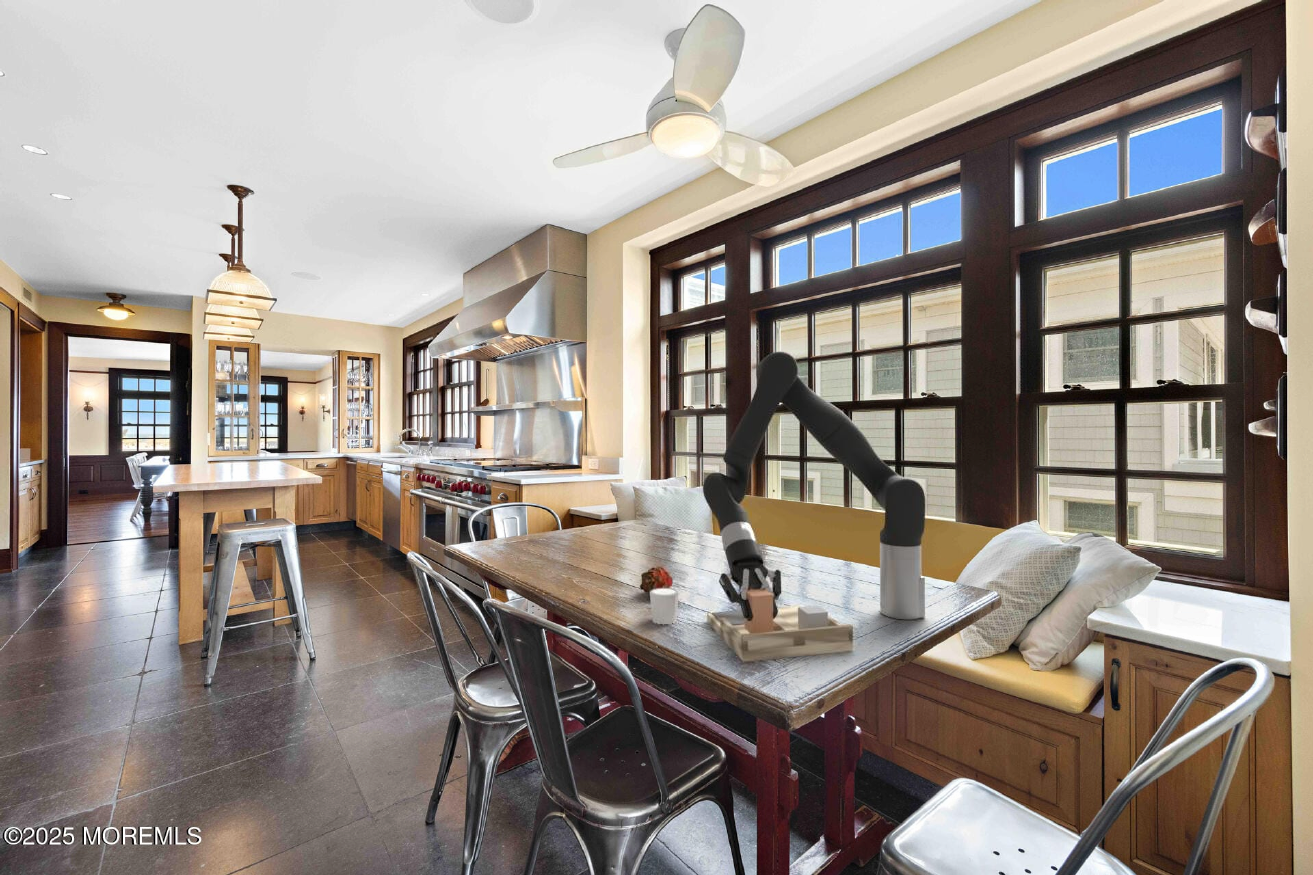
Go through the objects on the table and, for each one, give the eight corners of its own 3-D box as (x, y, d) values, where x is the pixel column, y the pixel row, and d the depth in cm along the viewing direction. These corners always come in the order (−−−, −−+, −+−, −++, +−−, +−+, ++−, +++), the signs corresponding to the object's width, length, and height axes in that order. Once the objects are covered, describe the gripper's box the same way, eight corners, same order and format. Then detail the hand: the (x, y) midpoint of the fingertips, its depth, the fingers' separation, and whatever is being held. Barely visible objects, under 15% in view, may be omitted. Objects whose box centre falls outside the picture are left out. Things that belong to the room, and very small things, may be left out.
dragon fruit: (649, 608, 151) (657, 601, 163) (675, 589, 150) (681, 584, 162) (631, 580, 153) (640, 576, 165) (656, 562, 152) (664, 558, 164)
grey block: (798, 630, 123) (798, 607, 123) (817, 628, 124) (817, 605, 124) (807, 637, 119) (807, 613, 119) (827, 635, 120) (827, 612, 120)
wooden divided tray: (707, 621, 136) (706, 600, 136) (799, 613, 140) (799, 593, 140) (743, 661, 112) (743, 636, 112) (852, 650, 117) (852, 626, 117)
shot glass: (658, 627, 132) (658, 597, 132) (645, 618, 138) (644, 589, 138) (684, 622, 135) (684, 592, 135) (670, 614, 141) (669, 585, 141)
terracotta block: (744, 627, 121) (744, 590, 121) (764, 626, 122) (764, 588, 122) (752, 635, 117) (752, 596, 117) (773, 633, 118) (773, 594, 118)
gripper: (714, 539, 125) (733, 612, 113) (775, 536, 128) (800, 606, 116) (707, 558, 130) (724, 629, 119) (766, 554, 133) (789, 624, 122)
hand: (762, 617), depth 117 cm, fingers closed on terracotta block, 4 cm apart
